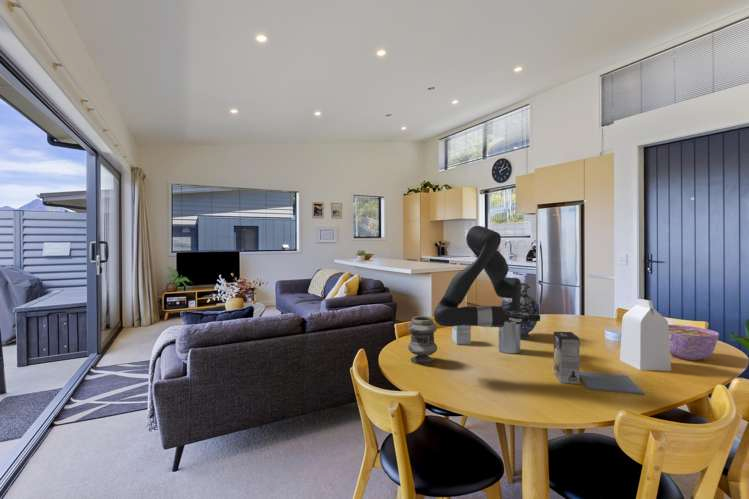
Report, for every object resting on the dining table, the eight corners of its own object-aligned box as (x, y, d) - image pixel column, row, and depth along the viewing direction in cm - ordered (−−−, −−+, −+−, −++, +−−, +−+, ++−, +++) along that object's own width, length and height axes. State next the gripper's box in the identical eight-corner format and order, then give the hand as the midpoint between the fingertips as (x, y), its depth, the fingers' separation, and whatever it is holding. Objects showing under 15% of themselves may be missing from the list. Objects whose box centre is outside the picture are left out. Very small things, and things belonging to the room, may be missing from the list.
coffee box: (553, 373, 135) (552, 331, 134) (571, 374, 133) (571, 331, 133) (560, 383, 126) (560, 337, 125) (580, 384, 124) (580, 338, 124)
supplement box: (451, 340, 182) (451, 315, 181) (466, 340, 182) (466, 315, 182) (456, 344, 174) (456, 318, 174) (471, 344, 175) (471, 318, 175)
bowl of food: (654, 357, 152) (654, 330, 152) (658, 347, 167) (659, 322, 167) (719, 368, 138) (719, 338, 138) (718, 356, 153) (718, 329, 153)
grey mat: (587, 389, 120) (587, 387, 120) (577, 372, 136) (577, 371, 136) (644, 395, 115) (644, 393, 115) (626, 377, 130) (626, 375, 130)
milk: (619, 360, 149) (619, 297, 149) (648, 360, 149) (648, 297, 149) (640, 370, 137) (640, 302, 137) (671, 370, 137) (671, 302, 137)
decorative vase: (496, 331, 199) (497, 280, 199) (531, 332, 197) (532, 281, 196) (505, 341, 178) (506, 285, 178) (544, 343, 176) (545, 286, 175)
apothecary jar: (404, 363, 147) (404, 319, 147) (412, 355, 159) (411, 314, 158) (434, 366, 143) (434, 321, 143) (439, 357, 155) (439, 316, 154)
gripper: (492, 309, 125) (545, 310, 122) (486, 303, 138) (534, 304, 135) (492, 331, 125) (545, 332, 122) (486, 323, 138) (534, 324, 135)
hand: (539, 317), depth 129 cm, fingers closed
